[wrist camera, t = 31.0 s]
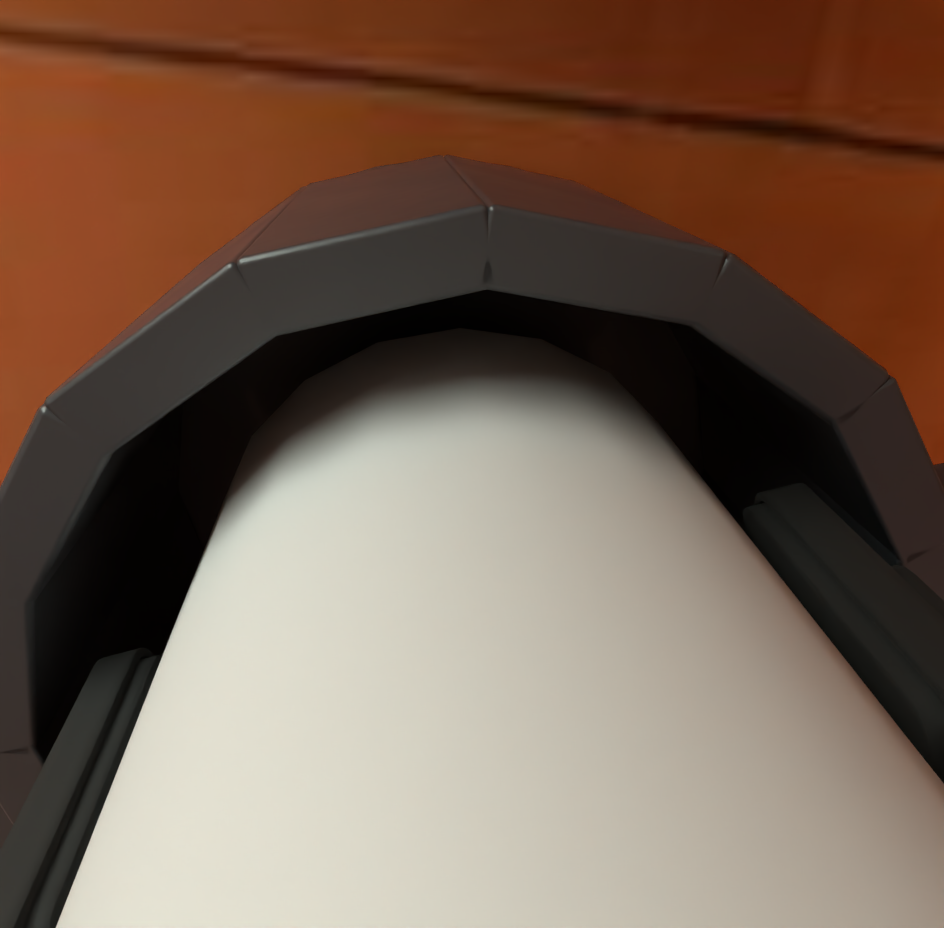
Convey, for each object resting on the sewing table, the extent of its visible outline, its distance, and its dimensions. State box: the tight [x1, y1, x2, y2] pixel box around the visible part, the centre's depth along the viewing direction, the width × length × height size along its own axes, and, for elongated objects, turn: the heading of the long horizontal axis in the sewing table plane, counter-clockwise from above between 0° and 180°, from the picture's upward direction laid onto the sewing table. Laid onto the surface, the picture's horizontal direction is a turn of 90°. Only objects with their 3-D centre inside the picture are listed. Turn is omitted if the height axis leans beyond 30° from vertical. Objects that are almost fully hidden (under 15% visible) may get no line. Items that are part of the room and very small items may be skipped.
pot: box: [0, 155, 944, 850], centre depth 13 cm, size 12×18×7 cm
